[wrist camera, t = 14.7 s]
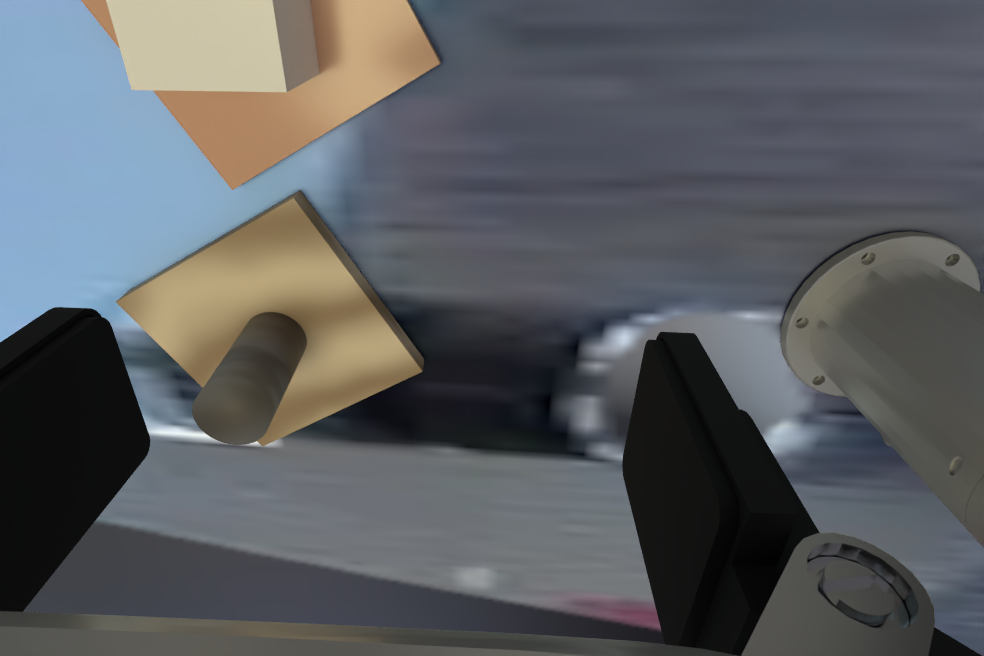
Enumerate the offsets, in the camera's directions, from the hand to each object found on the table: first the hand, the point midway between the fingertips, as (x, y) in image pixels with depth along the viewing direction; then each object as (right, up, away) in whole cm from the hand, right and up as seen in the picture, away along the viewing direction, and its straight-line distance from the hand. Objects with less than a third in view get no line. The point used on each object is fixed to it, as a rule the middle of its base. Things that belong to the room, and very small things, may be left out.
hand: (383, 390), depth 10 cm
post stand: (-12, +1, +29) cm, 31 cm away
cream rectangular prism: (-10, +17, +18) cm, 27 cm away
